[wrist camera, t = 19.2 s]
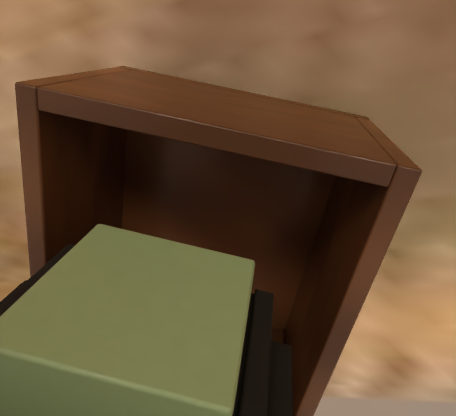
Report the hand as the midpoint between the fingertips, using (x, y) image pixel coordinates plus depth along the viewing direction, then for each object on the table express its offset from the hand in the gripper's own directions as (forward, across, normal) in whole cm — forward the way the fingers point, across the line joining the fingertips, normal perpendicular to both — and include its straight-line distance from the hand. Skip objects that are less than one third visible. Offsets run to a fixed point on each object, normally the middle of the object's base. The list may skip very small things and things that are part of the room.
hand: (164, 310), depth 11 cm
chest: (+12, 0, +3) cm, 12 cm away
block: (0, 0, 0) cm, 0 cm away
